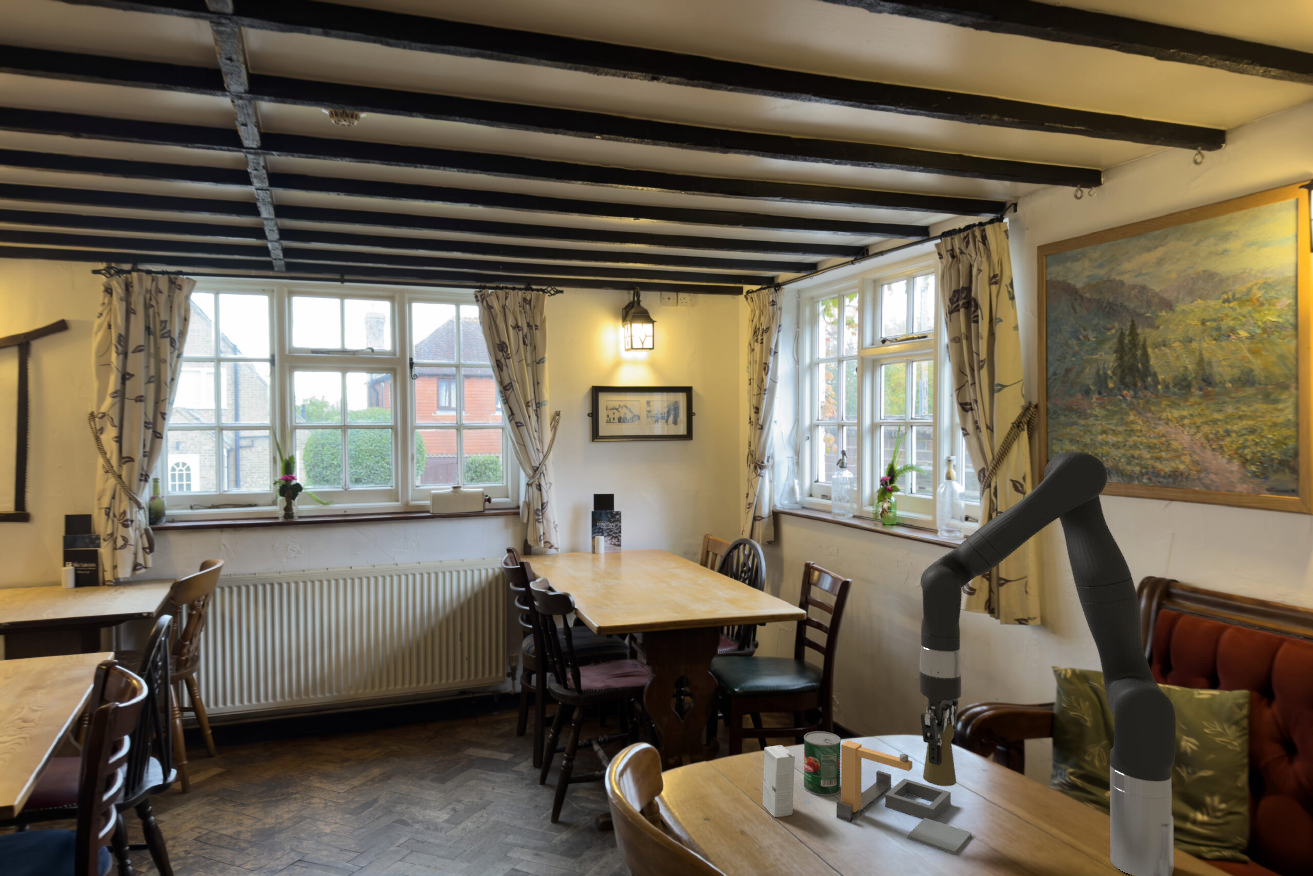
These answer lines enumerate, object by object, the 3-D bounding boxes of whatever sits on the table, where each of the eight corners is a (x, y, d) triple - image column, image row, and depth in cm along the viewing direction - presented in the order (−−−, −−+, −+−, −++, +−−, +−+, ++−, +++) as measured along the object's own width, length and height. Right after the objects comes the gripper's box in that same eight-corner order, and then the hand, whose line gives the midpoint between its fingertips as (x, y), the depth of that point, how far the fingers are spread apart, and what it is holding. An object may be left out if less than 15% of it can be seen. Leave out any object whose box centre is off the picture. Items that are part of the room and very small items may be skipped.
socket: (950, 804, 157) (950, 792, 157) (933, 822, 150) (933, 809, 150) (904, 790, 164) (904, 778, 164) (885, 806, 156) (885, 794, 156)
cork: (959, 787, 140) (959, 728, 141) (925, 784, 142) (925, 726, 142) (953, 774, 146) (953, 717, 146) (920, 771, 148) (920, 715, 148)
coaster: (971, 835, 144) (971, 832, 144) (955, 855, 137) (955, 851, 137) (924, 820, 150) (924, 817, 150) (907, 838, 143) (907, 835, 143)
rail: (891, 788, 164) (891, 774, 165) (850, 822, 149) (850, 807, 149) (878, 784, 166) (878, 770, 166) (836, 817, 151) (836, 802, 151)
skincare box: (761, 804, 156) (762, 746, 157) (781, 802, 158) (781, 744, 158) (775, 818, 151) (775, 758, 151) (795, 815, 152) (795, 755, 152)
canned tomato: (796, 786, 165) (796, 736, 165) (819, 777, 170) (819, 728, 170) (824, 800, 159) (824, 747, 159) (848, 790, 164) (848, 739, 164)
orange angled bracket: (913, 824, 146) (913, 755, 146) (907, 830, 144) (907, 759, 144) (847, 802, 155) (847, 737, 155) (841, 807, 153) (841, 741, 153)
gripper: (947, 683, 136) (946, 777, 136) (972, 666, 147) (972, 753, 147) (906, 674, 141) (906, 766, 141) (934, 659, 152) (933, 743, 152)
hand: (939, 759), depth 144 cm, fingers closed on cork, 4 cm apart
